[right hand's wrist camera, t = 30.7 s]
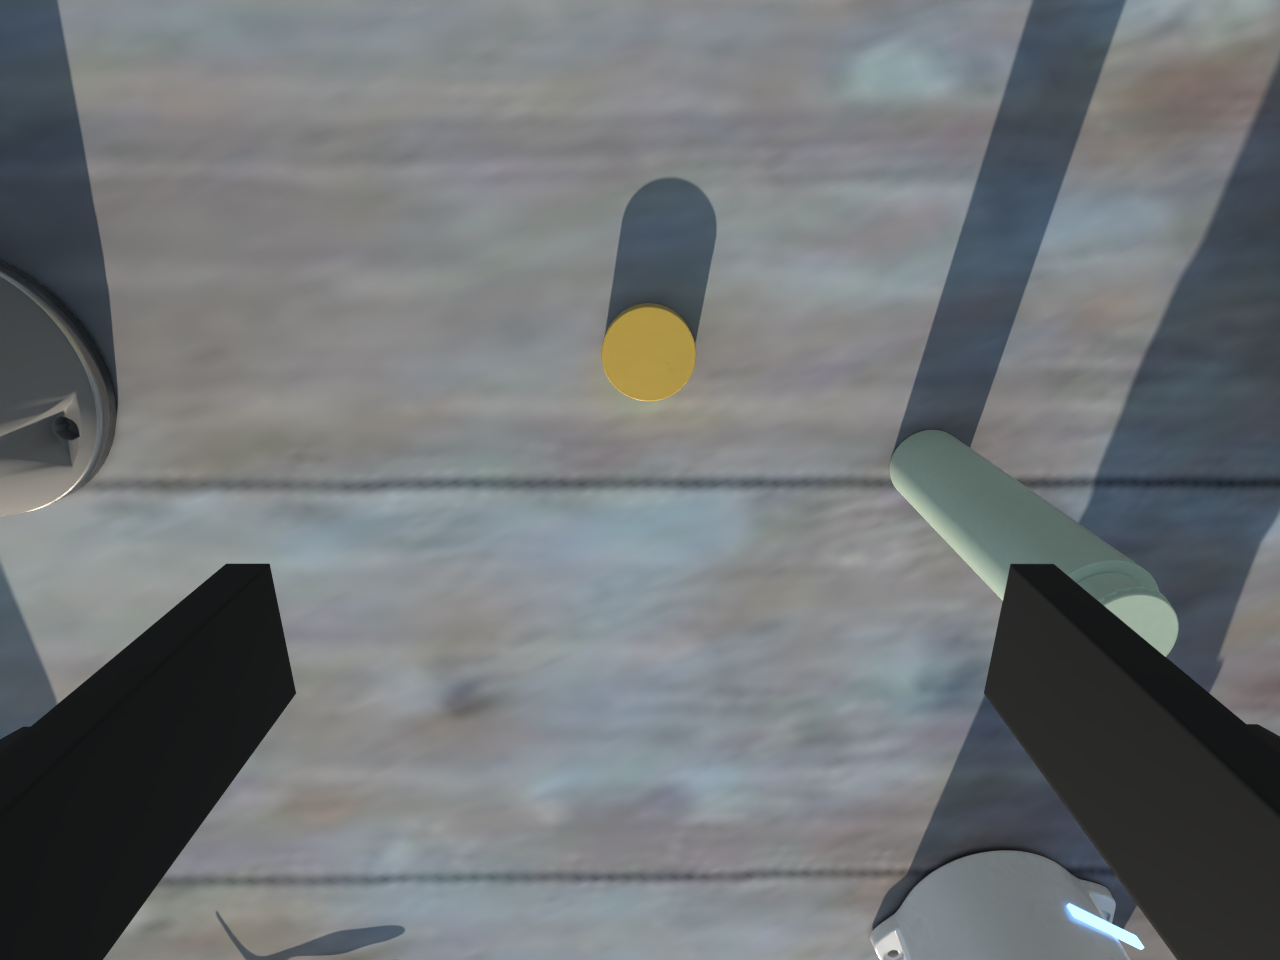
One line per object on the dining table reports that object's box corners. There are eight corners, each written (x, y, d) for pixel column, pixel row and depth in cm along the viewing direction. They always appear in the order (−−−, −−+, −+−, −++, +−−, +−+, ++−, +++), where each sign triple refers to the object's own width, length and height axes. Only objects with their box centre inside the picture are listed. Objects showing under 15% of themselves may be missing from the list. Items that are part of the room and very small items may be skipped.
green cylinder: (979, 453, 43) (1220, 619, 25) (931, 512, 44) (1127, 709, 26) (921, 415, 42) (1128, 559, 24) (874, 476, 43) (1037, 655, 26)
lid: (584, 345, 41) (582, 350, 39) (652, 283, 39) (653, 286, 38) (644, 411, 42) (644, 419, 40) (712, 353, 41) (715, 359, 39)
